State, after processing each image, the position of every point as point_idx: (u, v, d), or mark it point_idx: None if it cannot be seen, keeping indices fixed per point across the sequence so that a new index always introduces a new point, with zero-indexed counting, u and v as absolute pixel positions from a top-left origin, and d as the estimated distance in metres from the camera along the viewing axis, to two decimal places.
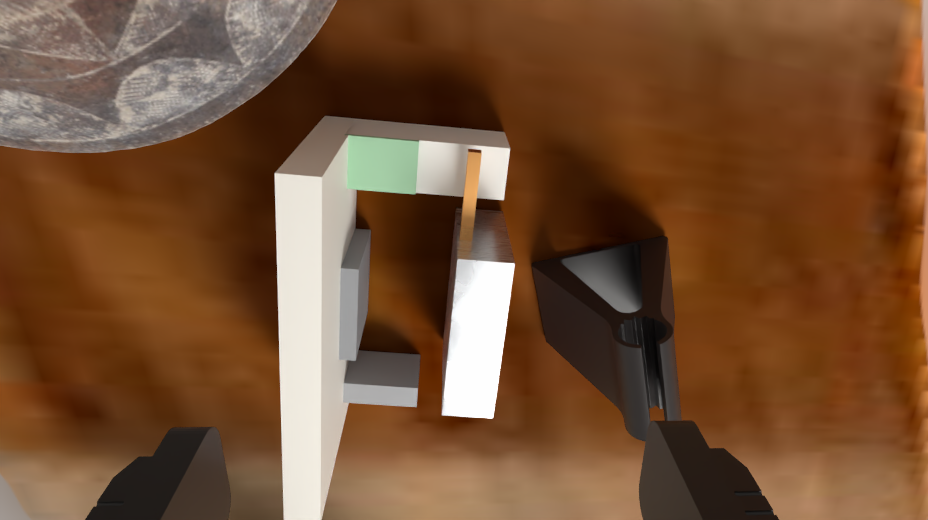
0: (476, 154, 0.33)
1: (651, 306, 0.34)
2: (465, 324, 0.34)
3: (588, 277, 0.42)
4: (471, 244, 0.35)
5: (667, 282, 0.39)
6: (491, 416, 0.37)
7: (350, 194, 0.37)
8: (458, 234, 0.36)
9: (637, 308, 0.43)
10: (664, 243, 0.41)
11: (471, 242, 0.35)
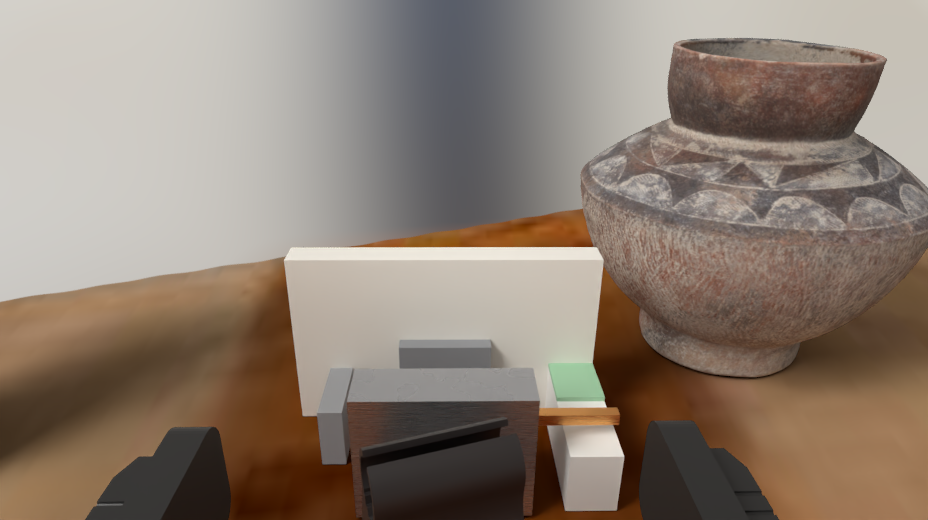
0: (617, 412, 0.36)
1: None
2: (465, 376, 0.35)
3: None
4: None
5: None
6: (349, 400, 0.33)
7: None
8: None
9: None
10: None
11: None
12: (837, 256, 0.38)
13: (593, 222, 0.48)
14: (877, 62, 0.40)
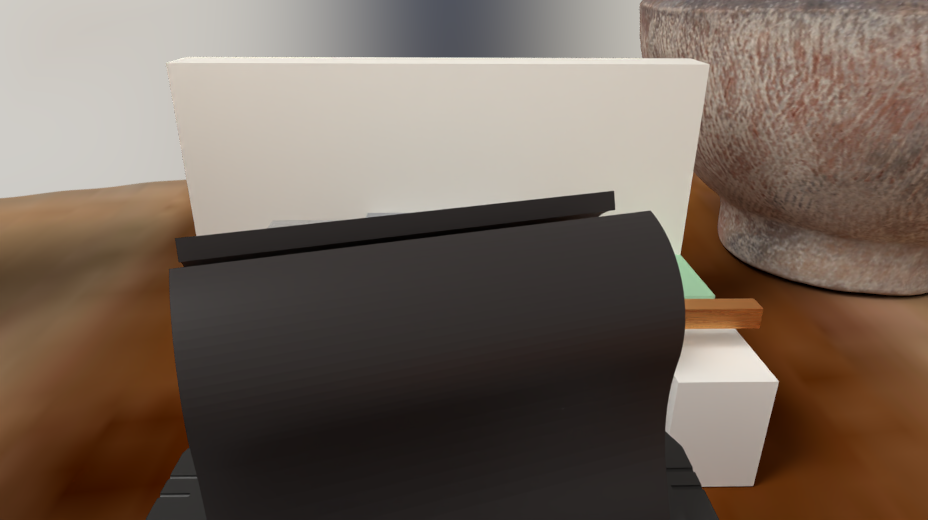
0: (756, 304, 0.20)
1: None
2: None
3: None
4: None
5: None
6: None
7: None
8: None
9: None
10: None
11: None
12: None
13: None
14: None
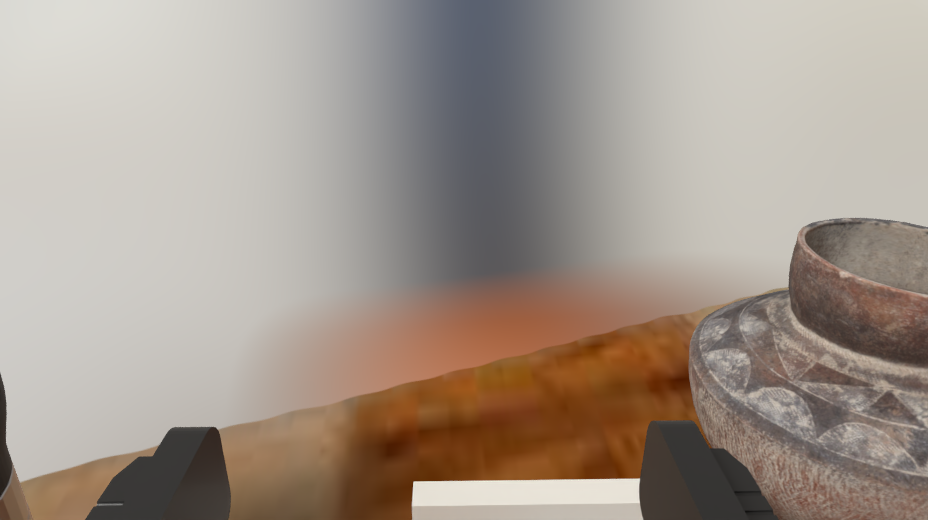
0: None
1: None
2: None
3: None
4: None
5: None
6: None
7: None
8: None
9: None
10: None
11: None
12: None
13: (712, 421, 0.46)
14: None
